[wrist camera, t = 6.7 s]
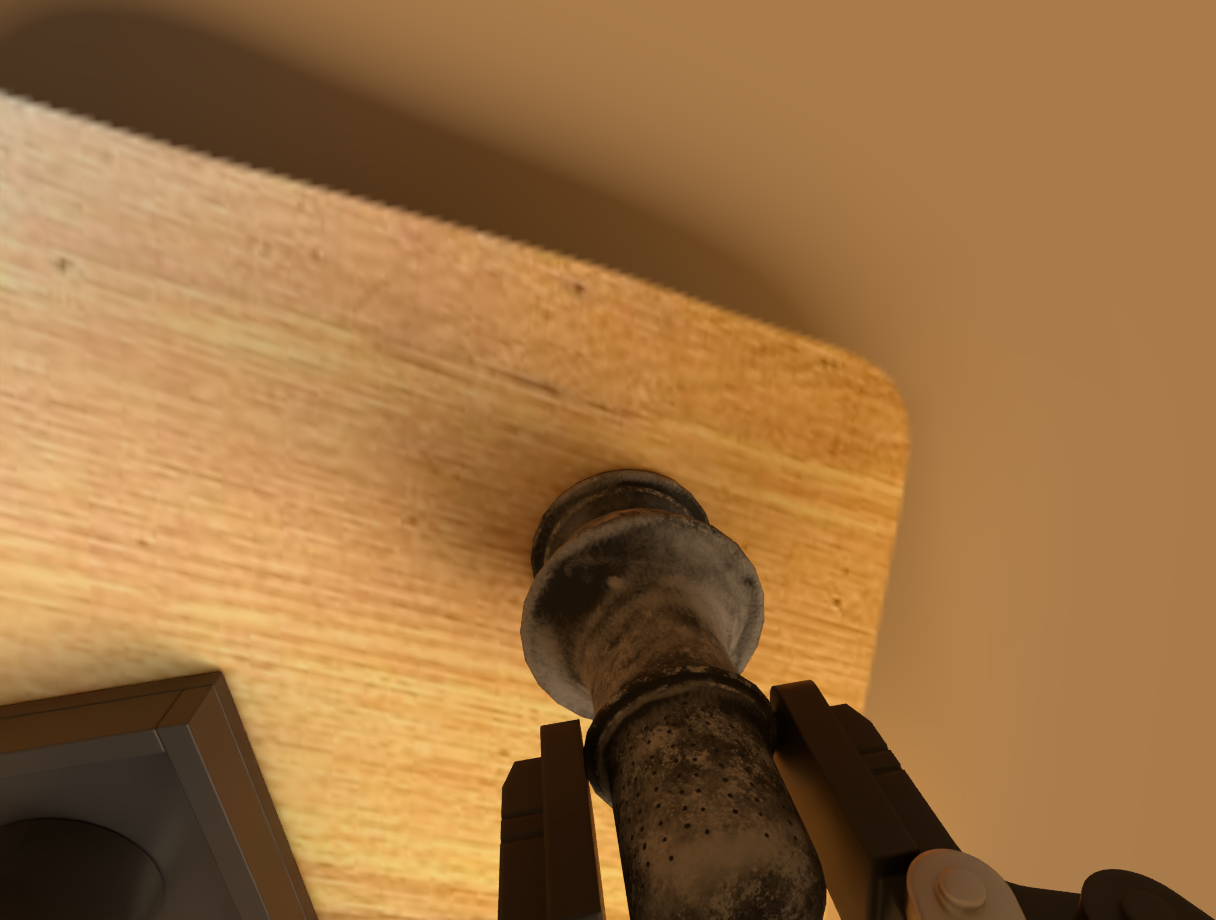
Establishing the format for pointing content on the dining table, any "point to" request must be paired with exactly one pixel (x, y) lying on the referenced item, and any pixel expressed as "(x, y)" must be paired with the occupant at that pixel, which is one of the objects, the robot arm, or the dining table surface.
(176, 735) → the dark tray
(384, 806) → the dining table surface
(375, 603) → the dining table surface
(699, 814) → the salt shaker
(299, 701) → the dining table surface
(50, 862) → the brown jar with lid
